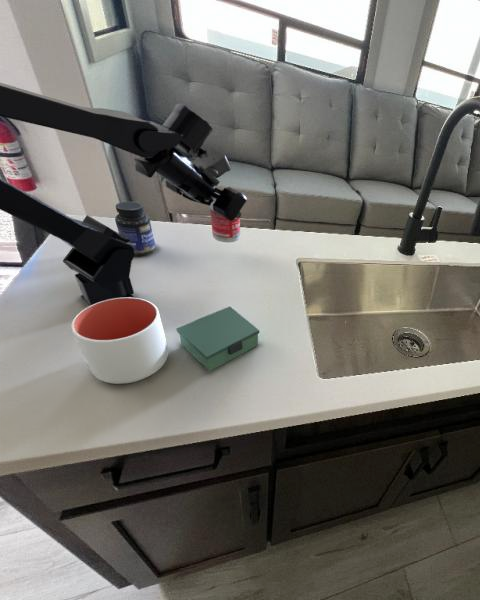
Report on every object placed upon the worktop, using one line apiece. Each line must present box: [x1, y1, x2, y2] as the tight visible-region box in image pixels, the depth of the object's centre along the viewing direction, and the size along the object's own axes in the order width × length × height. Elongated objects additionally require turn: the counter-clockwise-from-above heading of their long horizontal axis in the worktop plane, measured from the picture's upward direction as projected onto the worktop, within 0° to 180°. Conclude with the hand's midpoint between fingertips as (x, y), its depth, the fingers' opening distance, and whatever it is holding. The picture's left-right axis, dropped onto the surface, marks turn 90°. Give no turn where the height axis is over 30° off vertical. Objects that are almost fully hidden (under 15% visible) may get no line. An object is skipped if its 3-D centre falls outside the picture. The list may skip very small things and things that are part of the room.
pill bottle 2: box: [209, 198, 241, 243], centre depth 79 cm, size 6×6×11 cm
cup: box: [70, 297, 169, 385], centre depth 51 cm, size 10×10×10 cm
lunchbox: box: [175, 305, 260, 372], centre depth 60 cm, size 10×10×4 cm
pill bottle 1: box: [114, 200, 157, 257], centre depth 74 cm, size 6×6×11 cm
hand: (230, 211), depth 79 cm, fingers closed on pill bottle 2, 6 cm apart
